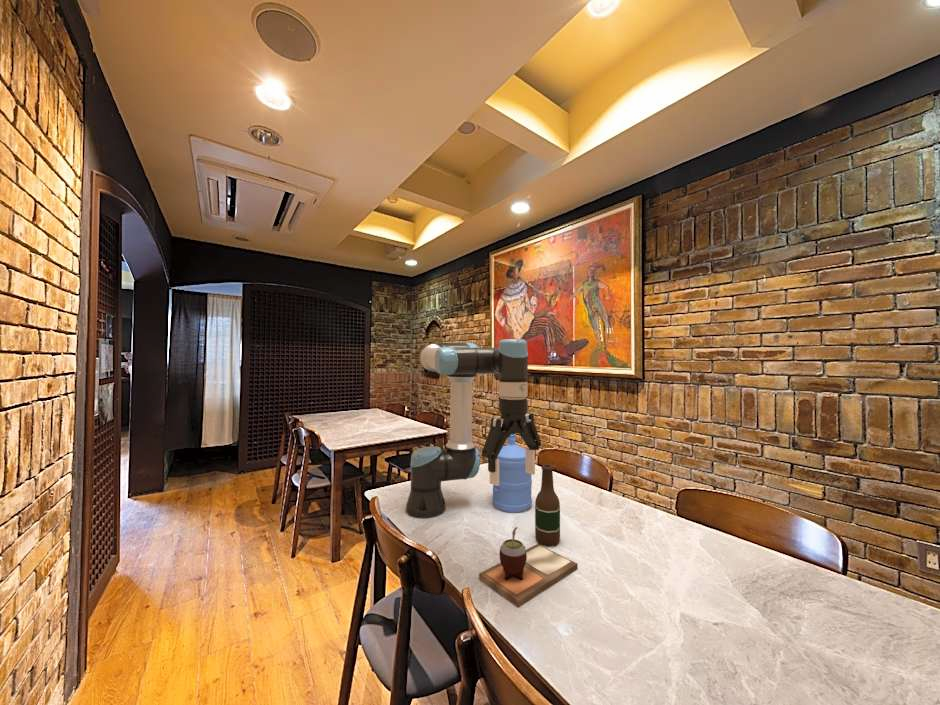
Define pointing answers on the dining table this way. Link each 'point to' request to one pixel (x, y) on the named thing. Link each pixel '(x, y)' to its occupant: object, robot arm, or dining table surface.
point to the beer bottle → (547, 511)
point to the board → (530, 575)
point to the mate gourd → (513, 557)
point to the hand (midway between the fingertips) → (513, 478)
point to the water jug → (512, 479)
